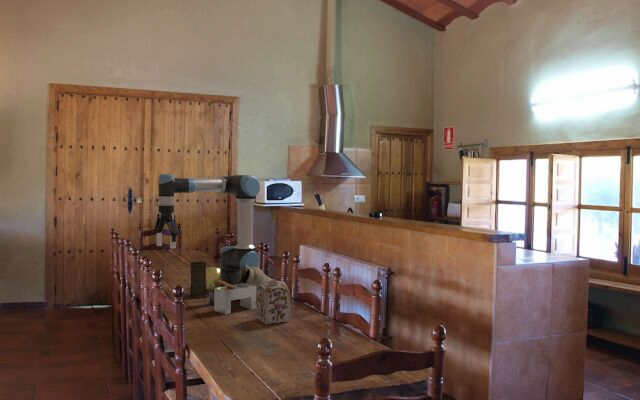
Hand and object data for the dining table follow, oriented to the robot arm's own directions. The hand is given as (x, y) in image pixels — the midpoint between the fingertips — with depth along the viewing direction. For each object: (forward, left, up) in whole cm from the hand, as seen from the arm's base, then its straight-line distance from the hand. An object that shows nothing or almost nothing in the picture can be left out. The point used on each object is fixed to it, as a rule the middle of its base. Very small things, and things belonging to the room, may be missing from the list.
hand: (166, 247), depth 278 cm
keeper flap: (-12, +36, -15) cm, 40 cm away
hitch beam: (-17, +36, -28) cm, 48 cm away
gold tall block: (-15, +20, -28) cm, 37 cm away
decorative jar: (-18, +63, -28) cm, 71 cm away
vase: (-40, +29, -28) cm, 57 cm away
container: (-19, 0, -28) cm, 34 cm away
